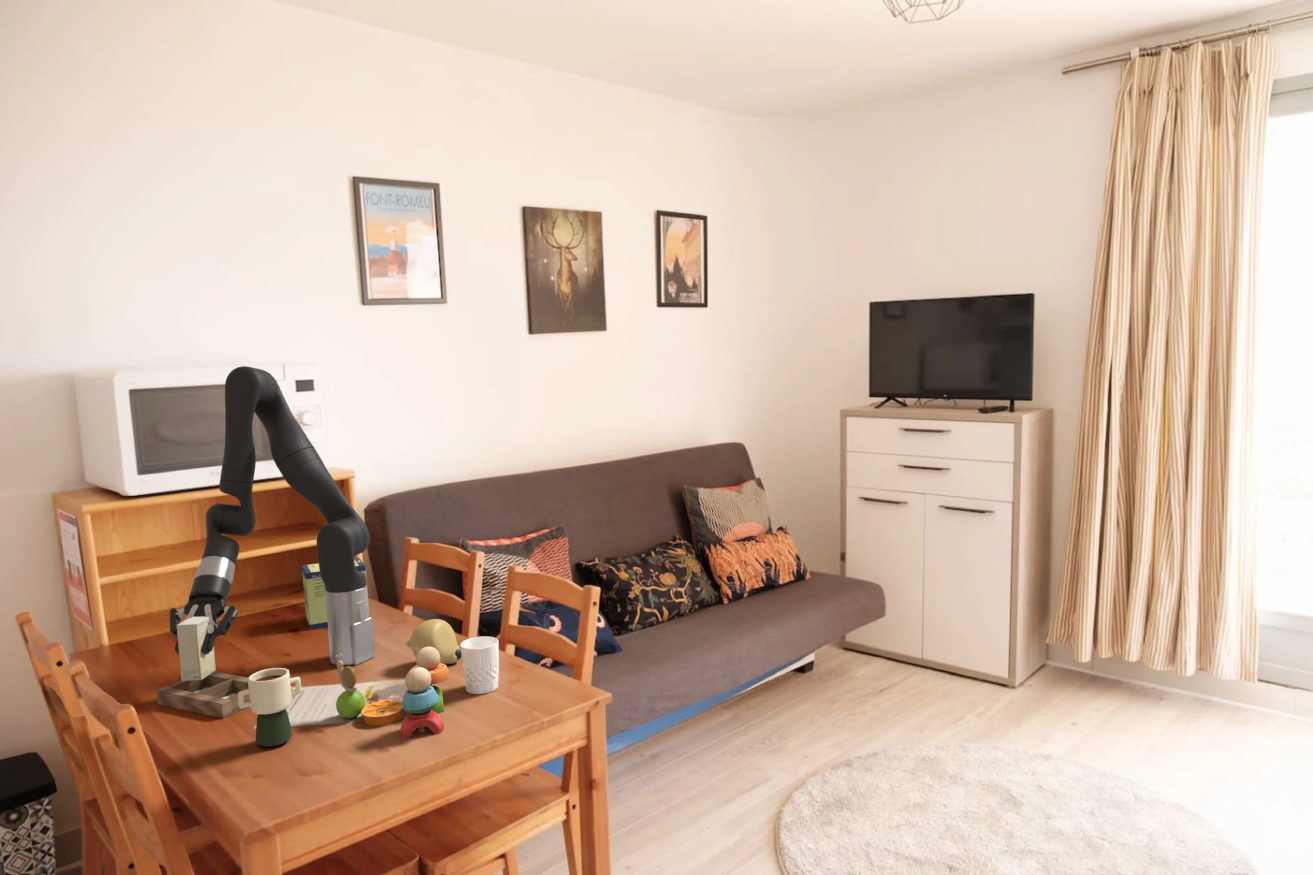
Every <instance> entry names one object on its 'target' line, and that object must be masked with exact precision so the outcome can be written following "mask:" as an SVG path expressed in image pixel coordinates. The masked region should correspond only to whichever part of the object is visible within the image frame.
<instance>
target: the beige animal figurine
mask: <svg viewBox="0 0 1313 875" xmlns="http://www.w3.org/2000/svg"><path fill="white" fill-rule="evenodd" d="M406 646H407V647H408V648H410V649H411V651H412V653H413V655H414V657H415V658H416V656H417V654H418V652H419V651H420V650H421V649H422V648H425V647H433V648H435V649H437V650H438V652H439V654H440V662H439V663H442V664H445V665H451V664H455V663H457V662H458V661H459V660H460V659H462V656H461V647H460V645H459V644H458V642H457V637H456V634H455V631H454V628H452V626H451V625H450V624H449V623H448V622H447V621H445V620H443V619H439V618H432V619H427V620H425V621H423V622H422V623H420V624H418V625H417V626H416V628H415V629H414V630H413V632H412V634H411V636H410V639H409V640H408V641H406Z"/></svg>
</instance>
